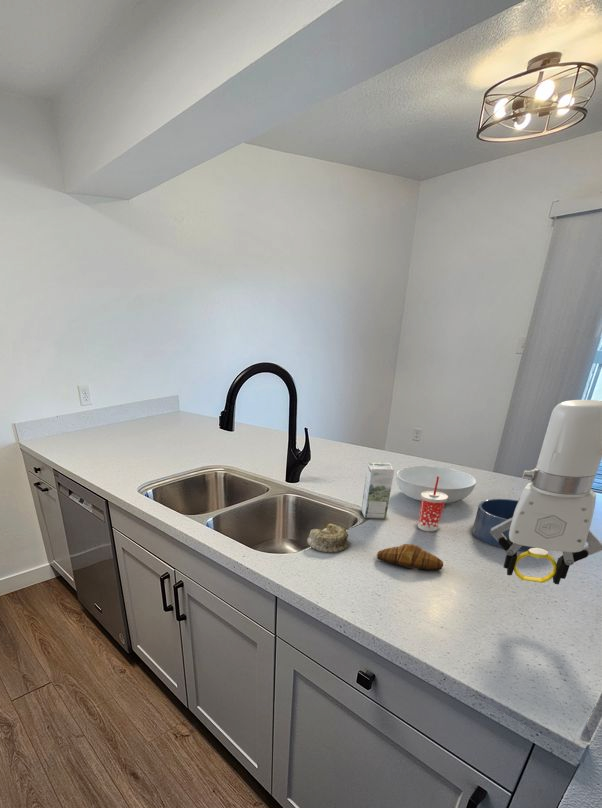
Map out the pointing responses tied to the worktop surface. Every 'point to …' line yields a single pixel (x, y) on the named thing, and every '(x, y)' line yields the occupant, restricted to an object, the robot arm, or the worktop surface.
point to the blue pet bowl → (493, 519)
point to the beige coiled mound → (328, 539)
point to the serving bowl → (425, 478)
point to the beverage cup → (431, 509)
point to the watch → (538, 554)
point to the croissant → (410, 557)
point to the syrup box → (377, 490)
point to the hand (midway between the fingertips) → (532, 575)
